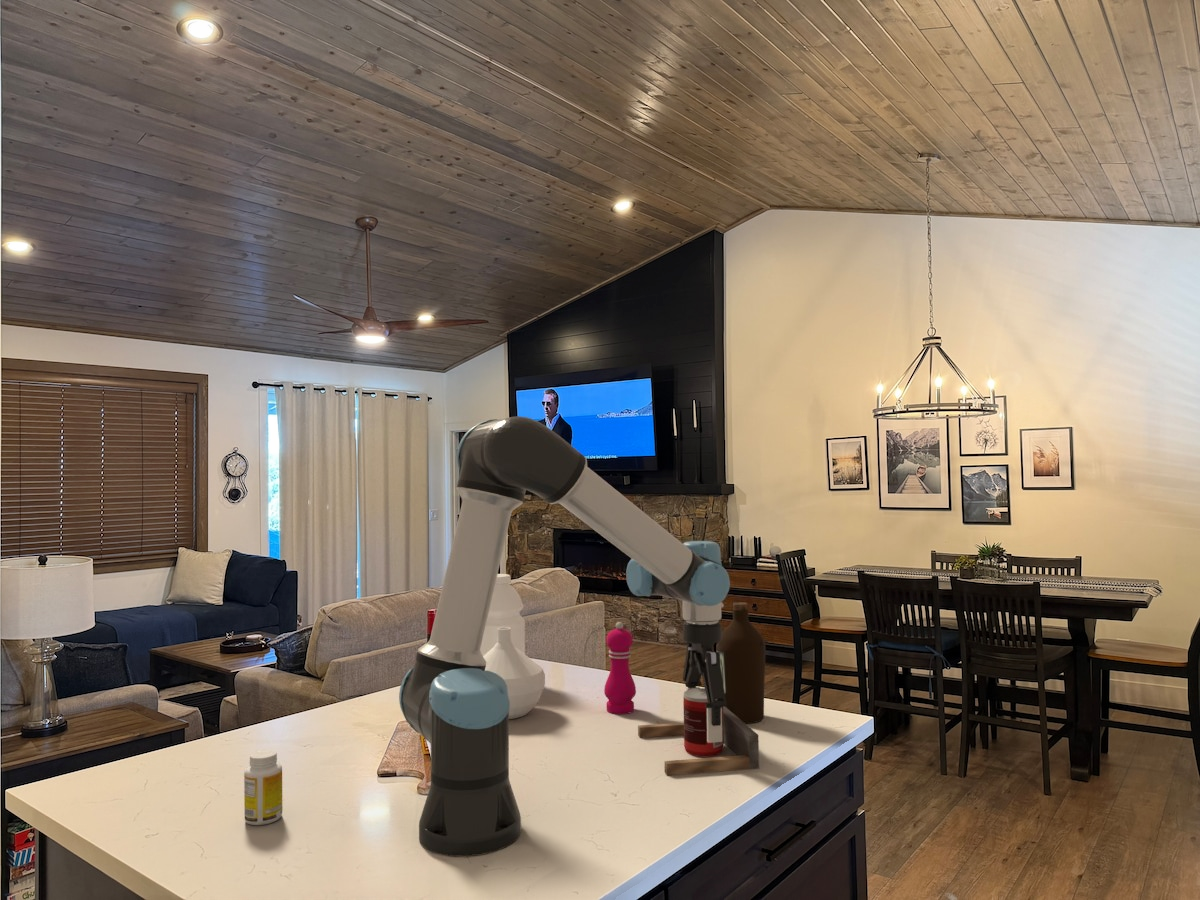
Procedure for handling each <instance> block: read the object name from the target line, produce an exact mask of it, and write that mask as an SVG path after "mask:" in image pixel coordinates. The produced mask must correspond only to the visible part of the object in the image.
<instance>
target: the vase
mask: <svg viewBox="0 0 1200 900" xmlns="http://www.w3.org/2000/svg"><path fill="white" fill-rule="evenodd" d="M483 657H484V659H485V661H486V662H487V663H486V667H485V671H487V670H488V671H491V672H494V673H496V674H498V675H499V676H500V677H502V678H503V679H504V681H505V682H506V684H507V689H508V697H509V701H510V705H509V707H510V708H509V720H514V719H518V718H521V717H524V716H526V715H527V714H528V713H530V711H532V710H533V709H534V708H535V706H536V705H537V703H538V702H539V701H540V698H541V696H542V695H543V694H542V693H543V691H544V689H545V685H546V673H545V671H544V668H543V667H542V666H541V665H540V664H539V663H537V662H536V661H535V660H533V659H532V658H531V657H529V656H527V655H526V653H525V654H524V653H522V652H521V651H520V650H519V649H517V648H516V647H515V646H514V645H513V643H512V642H511V628H509V627H501V628H498V640H497V643H496V644H495V646H494V647H493V648H492V649H491V650H490V651H489V652H488V653H486V654H485V655H484V656H483Z"/></svg>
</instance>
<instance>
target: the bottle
mask: <svg viewBox="0 0 1200 900" xmlns="http://www.w3.org/2000/svg"><path fill="white" fill-rule="evenodd" d="M511 581H512V579H511V574H508V573H498V574H497V578H496V583H495V587H494V591H493V596H492V600H491V604H490V609H489V613H488V618H487V622H486V626H485V631H484V635H483V640H482V644H481V648H480V651H481V654H482V656H484V655H485V654H486V653H488V652H489V651H490V650H491V649H492V648H493V647H494V646H495V644H496V643H497V640H498V628H501V627H509V628H511V642H512V643H513V645H514V646H515V647H516V648H517V649H519V650H520V651H521V652H522V653H524V654H525V655H526V647H525V646H526V620H525V618H524V617H523V616H522V615H521V611H522V610H523V609H524V607H525V606H524V604H523V600H522V597H521V596H520V594H519V593H518V591H517V590H516V589H515V588H514V587H513V586H512V585H511V584H510V583H511Z"/></svg>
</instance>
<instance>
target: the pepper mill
mask: <svg viewBox="0 0 1200 900" xmlns="http://www.w3.org/2000/svg"><path fill="white" fill-rule="evenodd" d="M633 641H634V640H633V635H632V633H631V632H630V631H629V630H627V629H625V628H624V624H623V622H621V621H617V622H616V623H615V628H613V629H612V630H610V631H609V632H608V634H607V635H606V645H607V647H608V648H609V650H608V657H609V658H610V670H609V674H608V676H607V679H606V682H605V684H604V688H603V689H604V690H603V691H604V692H603V694H604V696H605V697H606V698H607V700H608V701H606V712H608V713H610V714H615V715H616V714H617V715H625V714H630V713H633V712H634V711H635V702H634V701H633V699H634V697H635V696H636V693H637V689H636V683H635V681H634V678H633V676H632V674H631V671H630V666H629V665H630V664H629V660H630V658H631V656H632V655H631V650H630V649H631V647H632V646H633V643H634V642H633Z"/></svg>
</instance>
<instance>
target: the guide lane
mask: <svg viewBox="0 0 1200 900" xmlns="http://www.w3.org/2000/svg"><path fill="white" fill-rule="evenodd" d="M723 734H724V746H726V747H727V748H728V749H729V750H730V751H731V752H732V753H733V754H734V755H731V756H730V755H729V756H727V755H726V756H712V757H705V758H704V757H703V758H689V759H686V758H685V759H678V760H677V759H673V760H664V774H665V775H666V776H673V775H674V776H675V775H687V774H702V773H703V774H704V773H711V772H715V773H716V772H726V771H727V772H729V771H738V770H739V771H740V770H753V769H759V768H760V762H759V761H760V754H759V753H760V751H759V747H760V746H759V742H760V741H759V734H758V733H757V732H755V730H753V729H752V728H751V727H750V726H749V725H748V724H747V723H744V722H743V721H741V720H740V719H739V718H738V717H737V716H736V715H734V714H733V713H732V712H731V711H730V710H728V709H727V708H726V707H725V706H723ZM681 735H683V736H684V722H673V723H671V722H670V723H659V724H658V723H657V724H656V723H655V724H645V725H644V724H642V725H641V724H640V725H637V736H638V737H639V738H653V737H671V736H681Z"/></svg>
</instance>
